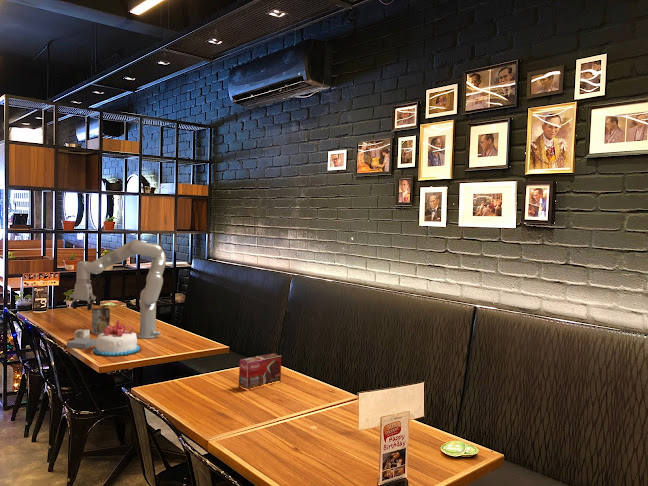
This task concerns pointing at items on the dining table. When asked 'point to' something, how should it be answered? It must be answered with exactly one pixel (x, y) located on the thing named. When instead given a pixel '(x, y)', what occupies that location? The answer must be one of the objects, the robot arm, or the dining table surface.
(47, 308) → the dining table surface
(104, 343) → the wedding cake
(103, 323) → the coffee box
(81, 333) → the cube
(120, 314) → the dining table surface
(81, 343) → the stand
